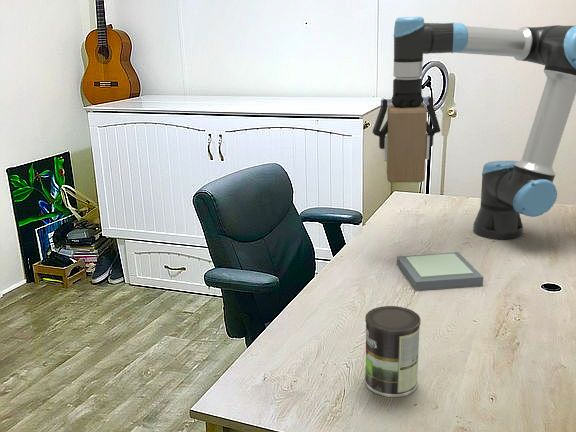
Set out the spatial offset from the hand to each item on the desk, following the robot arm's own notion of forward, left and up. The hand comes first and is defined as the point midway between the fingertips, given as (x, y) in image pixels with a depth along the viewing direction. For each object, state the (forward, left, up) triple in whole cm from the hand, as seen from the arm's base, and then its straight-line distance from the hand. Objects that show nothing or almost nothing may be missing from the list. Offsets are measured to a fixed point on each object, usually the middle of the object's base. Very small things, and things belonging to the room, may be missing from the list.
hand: (405, 159), depth 173 cm
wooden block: (0, 0, -6) cm, 6 cm away
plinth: (-6, +12, -30) cm, 33 cm away
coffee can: (+20, +61, -30) cm, 71 cm away
